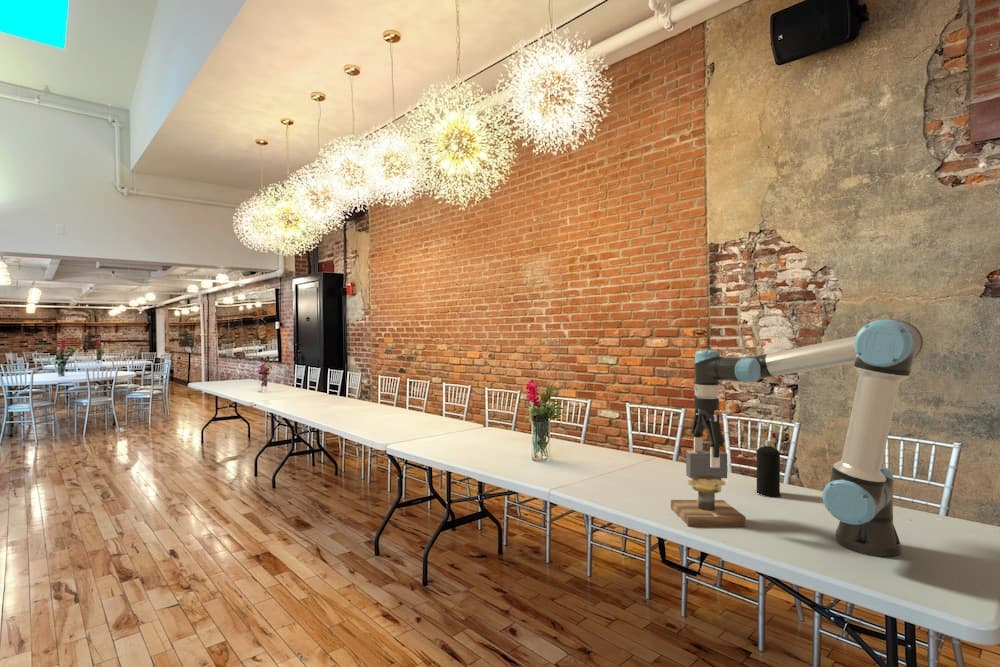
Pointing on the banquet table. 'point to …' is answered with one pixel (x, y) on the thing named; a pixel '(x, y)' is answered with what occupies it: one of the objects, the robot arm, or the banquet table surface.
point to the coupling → (705, 471)
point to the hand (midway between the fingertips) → (706, 461)
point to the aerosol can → (768, 470)
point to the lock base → (707, 511)
